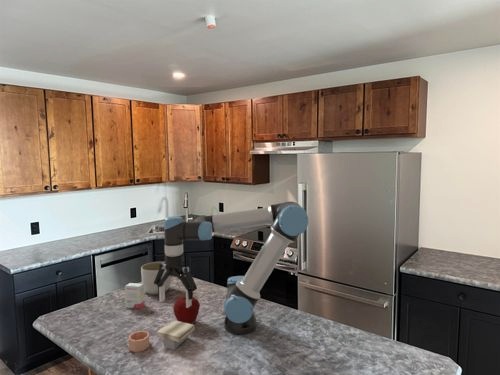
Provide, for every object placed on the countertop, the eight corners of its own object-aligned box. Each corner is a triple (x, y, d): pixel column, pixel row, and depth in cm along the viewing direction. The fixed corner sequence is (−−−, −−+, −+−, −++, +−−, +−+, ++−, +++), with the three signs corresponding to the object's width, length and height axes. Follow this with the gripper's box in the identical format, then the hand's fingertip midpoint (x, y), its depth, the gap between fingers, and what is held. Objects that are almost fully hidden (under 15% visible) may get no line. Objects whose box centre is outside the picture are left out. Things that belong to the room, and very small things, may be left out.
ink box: (145, 304, 179) (144, 283, 178) (140, 309, 174) (139, 286, 173) (130, 303, 181) (129, 282, 180) (125, 307, 176) (124, 285, 175)
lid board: (194, 329, 145) (194, 324, 145) (179, 341, 135) (179, 337, 135) (173, 324, 149) (173, 320, 149) (157, 336, 139) (157, 331, 139)
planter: (155, 299, 186) (154, 272, 185) (135, 293, 195) (134, 267, 194) (178, 289, 200) (177, 264, 199) (158, 283, 209) (157, 260, 208)
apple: (169, 327, 155) (168, 299, 154) (182, 316, 166) (181, 290, 165) (192, 331, 151) (191, 303, 150) (204, 320, 162) (203, 293, 161)
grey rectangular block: (188, 337, 146) (187, 328, 146) (174, 349, 137) (173, 339, 137) (178, 335, 148) (178, 326, 148) (164, 346, 139) (163, 337, 139)
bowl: (153, 343, 141) (153, 333, 141) (139, 353, 134) (139, 342, 134) (138, 339, 144) (138, 329, 144) (124, 349, 137) (124, 338, 137)
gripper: (204, 255, 138) (205, 305, 140) (156, 248, 148) (157, 295, 150) (194, 260, 131) (195, 312, 133) (144, 253, 141) (145, 302, 143)
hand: (175, 303), depth 141 cm, fingers open, 13 cm apart
